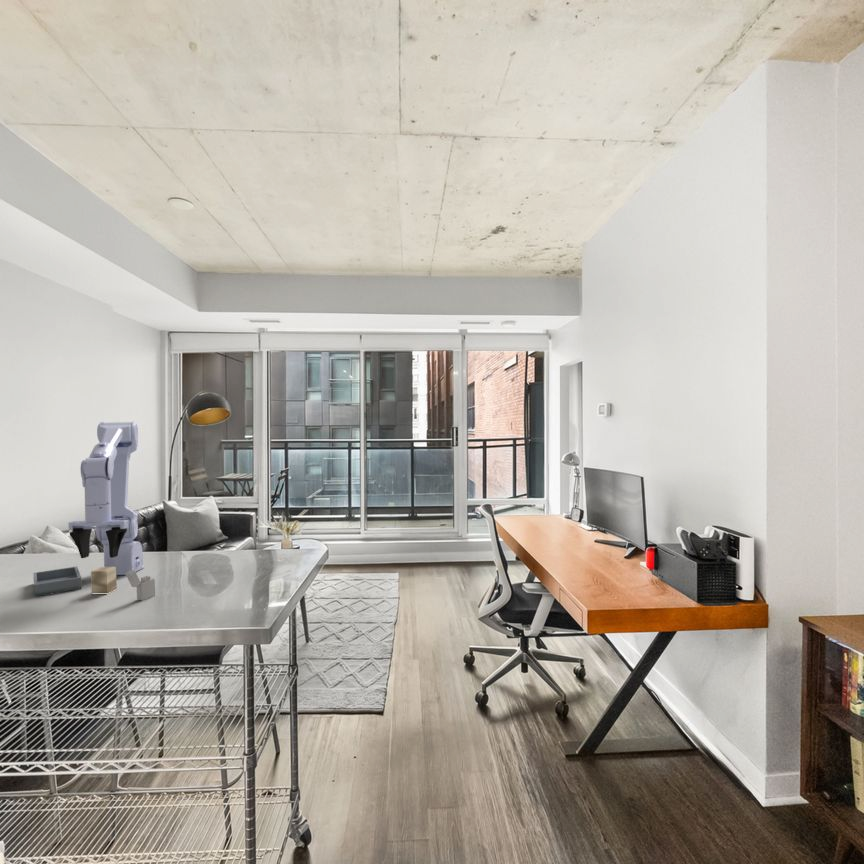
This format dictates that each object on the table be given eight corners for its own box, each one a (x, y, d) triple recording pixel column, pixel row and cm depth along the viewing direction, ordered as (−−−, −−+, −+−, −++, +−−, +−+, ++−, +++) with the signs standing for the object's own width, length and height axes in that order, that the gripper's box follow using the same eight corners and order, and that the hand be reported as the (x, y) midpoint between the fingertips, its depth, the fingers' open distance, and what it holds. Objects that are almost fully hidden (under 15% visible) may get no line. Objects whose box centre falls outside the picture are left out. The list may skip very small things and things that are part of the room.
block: (116, 589, 142) (115, 566, 142) (107, 594, 138) (106, 571, 138) (101, 589, 142) (100, 567, 142) (91, 594, 138) (90, 571, 138)
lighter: (150, 594, 137) (149, 563, 137) (155, 595, 136) (154, 563, 136) (125, 604, 130) (124, 571, 130) (131, 604, 130) (130, 571, 129)
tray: (77, 576, 154) (77, 566, 154) (81, 588, 143) (81, 577, 143) (33, 583, 148) (33, 572, 148) (34, 596, 137) (34, 585, 137)
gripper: (59, 506, 136) (60, 561, 135) (116, 505, 135) (117, 560, 135) (78, 503, 143) (80, 554, 142) (132, 502, 142) (134, 553, 142)
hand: (99, 557), depth 139 cm, fingers open, 7 cm apart
